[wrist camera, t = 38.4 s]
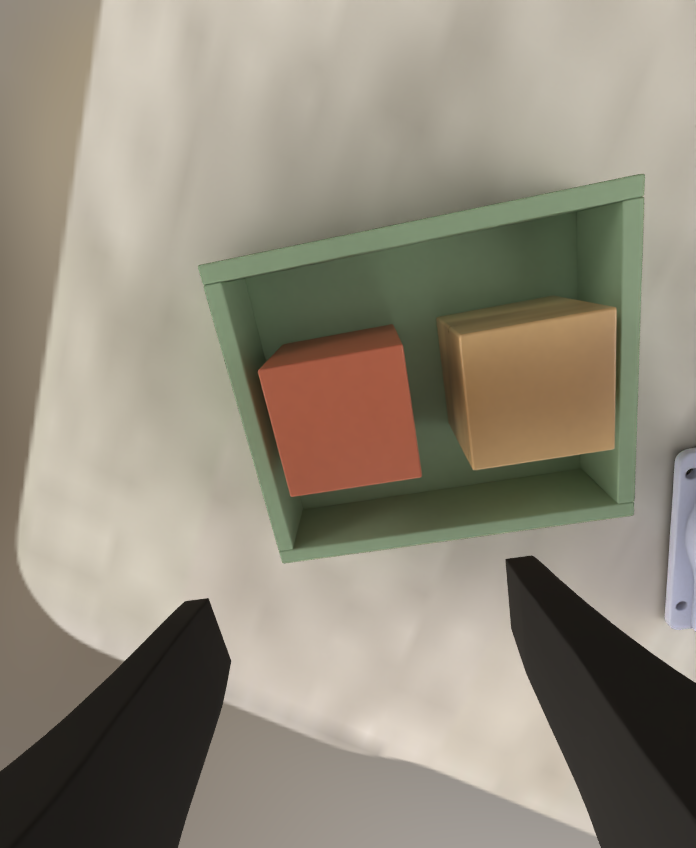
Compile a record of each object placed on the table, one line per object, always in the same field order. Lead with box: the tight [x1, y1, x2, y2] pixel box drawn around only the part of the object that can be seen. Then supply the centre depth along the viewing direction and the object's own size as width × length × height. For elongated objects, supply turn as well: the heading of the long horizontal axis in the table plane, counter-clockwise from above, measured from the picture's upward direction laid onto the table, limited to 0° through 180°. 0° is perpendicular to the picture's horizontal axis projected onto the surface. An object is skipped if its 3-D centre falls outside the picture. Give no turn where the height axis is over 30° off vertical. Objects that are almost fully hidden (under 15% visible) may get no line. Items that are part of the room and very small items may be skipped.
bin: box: [198, 174, 645, 563], centre depth 17 cm, size 11×13×4 cm
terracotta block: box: [258, 324, 422, 497], centre depth 16 cm, size 4×4×4 cm
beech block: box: [436, 296, 617, 470], centre depth 15 cm, size 4×4×4 cm
